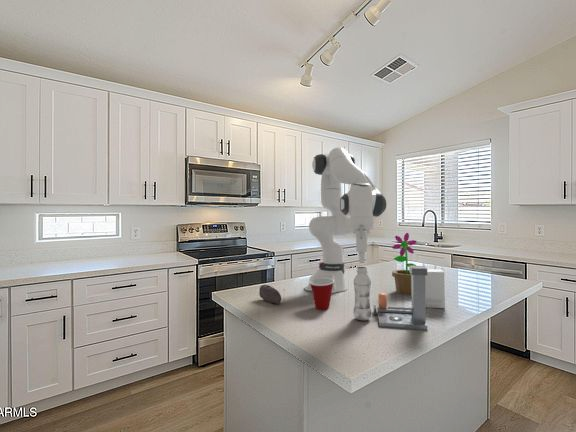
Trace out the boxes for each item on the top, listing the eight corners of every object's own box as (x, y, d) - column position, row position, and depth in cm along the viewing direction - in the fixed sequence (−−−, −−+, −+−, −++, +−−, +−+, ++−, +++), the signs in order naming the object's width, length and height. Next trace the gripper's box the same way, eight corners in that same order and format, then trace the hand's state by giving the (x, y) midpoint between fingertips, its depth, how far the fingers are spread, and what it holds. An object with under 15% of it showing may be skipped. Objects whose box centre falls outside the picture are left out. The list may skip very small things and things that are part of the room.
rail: (373, 315, 121) (373, 308, 121) (373, 311, 126) (373, 305, 126) (425, 318, 117) (425, 311, 117) (423, 314, 121) (422, 308, 121)
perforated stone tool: (285, 305, 136) (285, 289, 136) (275, 307, 133) (275, 291, 133) (267, 297, 149) (267, 283, 148) (258, 299, 146) (258, 285, 145)
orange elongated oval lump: (377, 311, 121) (377, 295, 121) (377, 309, 125) (377, 292, 124) (388, 312, 120) (388, 295, 120) (387, 309, 124) (387, 293, 123)
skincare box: (442, 304, 134) (442, 269, 133) (445, 309, 127) (445, 272, 127) (422, 302, 136) (422, 268, 136) (423, 307, 130) (423, 271, 130)
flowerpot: (416, 288, 161) (416, 232, 160) (426, 296, 146) (426, 234, 146) (389, 288, 162) (388, 232, 162) (395, 296, 148) (395, 234, 147)
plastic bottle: (351, 317, 120) (350, 266, 119) (368, 316, 120) (367, 265, 120) (356, 323, 113) (355, 269, 113) (373, 322, 114) (373, 269, 113)
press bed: (379, 326, 109) (378, 268, 109) (377, 316, 120) (377, 263, 120) (429, 330, 105) (428, 270, 105) (423, 319, 116) (422, 264, 116)
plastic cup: (304, 307, 132) (303, 280, 132) (321, 302, 139) (321, 276, 139) (322, 313, 124) (322, 284, 124) (339, 308, 131) (339, 280, 131)
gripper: (370, 225, 105) (371, 265, 105) (369, 223, 125) (369, 257, 125) (352, 226, 107) (352, 265, 107) (353, 223, 127) (354, 257, 127)
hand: (361, 260), depth 116 cm, fingers open, 8 cm apart
